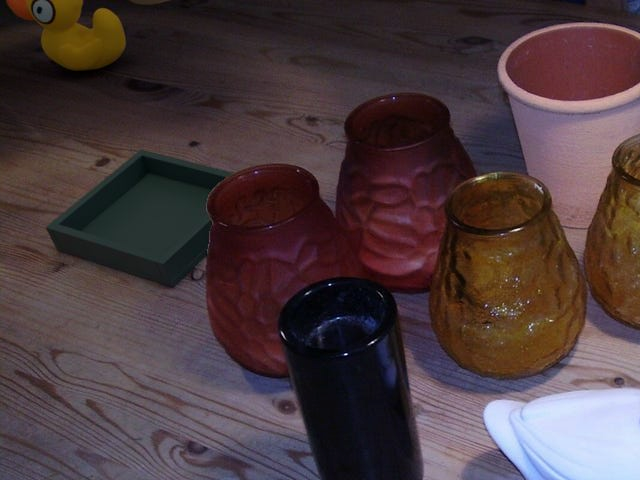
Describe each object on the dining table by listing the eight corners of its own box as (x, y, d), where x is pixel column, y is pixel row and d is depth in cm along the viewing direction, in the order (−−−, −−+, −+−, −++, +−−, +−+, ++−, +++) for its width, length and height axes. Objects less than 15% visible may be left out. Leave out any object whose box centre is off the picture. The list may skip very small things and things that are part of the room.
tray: (56, 250, 89) (45, 227, 87) (150, 171, 96) (140, 148, 94) (173, 287, 84) (162, 263, 82) (262, 201, 91) (254, 177, 89)
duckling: (29, 82, 111) (-11, -4, 104) (47, 57, 115) (9, -27, 108) (126, 76, 110) (92, -11, 103) (141, 52, 114) (109, -34, 107)
